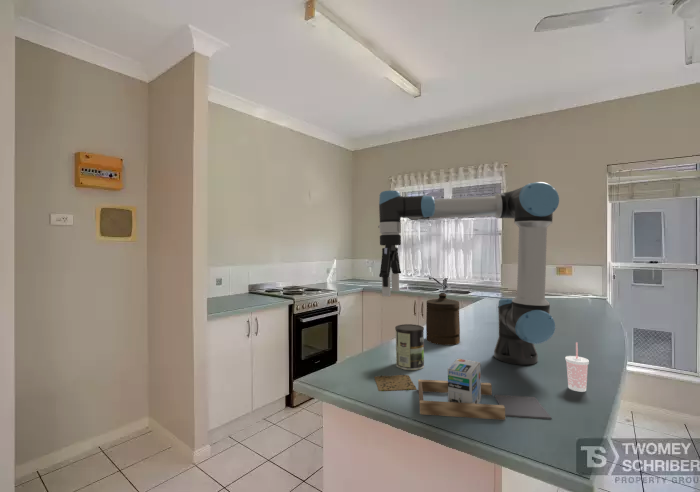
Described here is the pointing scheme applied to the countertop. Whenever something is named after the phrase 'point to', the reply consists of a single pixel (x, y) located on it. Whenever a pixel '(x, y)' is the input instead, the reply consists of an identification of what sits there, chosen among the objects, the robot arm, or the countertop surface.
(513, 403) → the rubber mat
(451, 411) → the oak open-sided frame
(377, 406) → the countertop surface
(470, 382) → the light bulb box
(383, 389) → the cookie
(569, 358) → the beverage cup
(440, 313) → the wooden container
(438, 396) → the countertop surface
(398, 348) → the coffee can
